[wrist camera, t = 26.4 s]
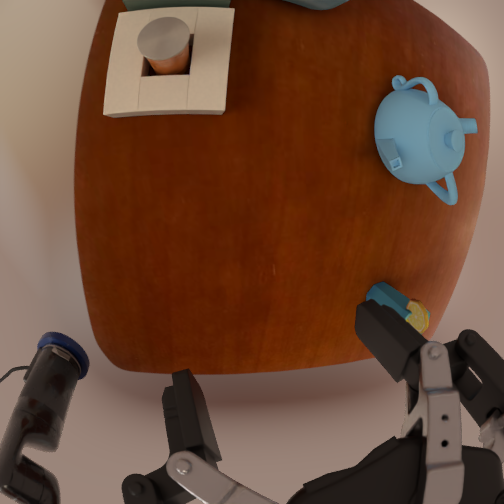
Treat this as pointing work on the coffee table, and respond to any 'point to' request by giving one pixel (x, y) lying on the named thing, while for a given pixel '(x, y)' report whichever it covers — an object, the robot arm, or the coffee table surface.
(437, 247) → the coffee table surface
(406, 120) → the teapot
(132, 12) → the hollow square tile
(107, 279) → the coffee table surface
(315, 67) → the coffee table surface
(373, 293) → the cup
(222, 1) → the green upright block
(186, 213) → the coffee table surface
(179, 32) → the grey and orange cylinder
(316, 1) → the flower pot
